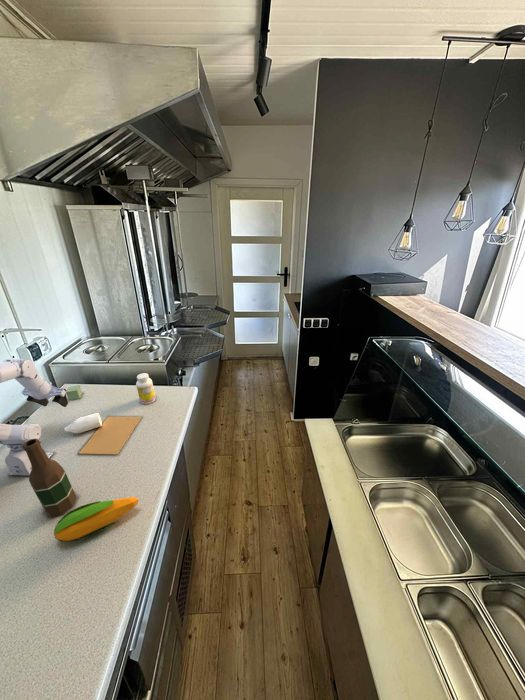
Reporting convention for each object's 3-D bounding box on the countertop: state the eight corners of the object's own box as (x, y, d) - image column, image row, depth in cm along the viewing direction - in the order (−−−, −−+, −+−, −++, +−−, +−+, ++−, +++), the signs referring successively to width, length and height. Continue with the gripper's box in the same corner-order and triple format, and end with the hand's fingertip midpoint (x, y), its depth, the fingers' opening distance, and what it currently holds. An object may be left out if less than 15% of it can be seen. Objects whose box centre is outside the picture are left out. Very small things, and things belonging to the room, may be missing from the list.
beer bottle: (61, 519, 79) (29, 456, 68) (38, 514, 80) (2, 451, 70) (83, 495, 86) (56, 433, 75) (61, 490, 87) (31, 430, 77)
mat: (117, 454, 100) (117, 454, 100) (78, 454, 100) (78, 453, 100) (141, 417, 118) (141, 416, 118) (108, 417, 118) (108, 416, 118)
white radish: (67, 431, 111) (62, 419, 109) (101, 420, 116) (97, 409, 114) (66, 440, 107) (61, 429, 104) (102, 428, 111) (97, 417, 109)
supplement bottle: (139, 398, 130) (133, 373, 124) (155, 394, 133) (149, 370, 127) (141, 406, 125) (134, 381, 119) (156, 402, 127) (151, 377, 121)
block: (80, 398, 131) (77, 390, 129) (68, 400, 129) (65, 392, 127) (82, 393, 134) (79, 385, 132) (71, 394, 133) (68, 386, 131)
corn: (50, 511, 73) (133, 478, 81) (60, 527, 77) (139, 495, 85) (47, 538, 67) (137, 500, 76) (58, 555, 71) (142, 517, 79)
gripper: (61, 375, 101) (79, 395, 111) (21, 374, 102) (43, 394, 112) (50, 391, 96) (71, 412, 107) (9, 390, 97) (33, 410, 107)
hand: (56, 404), depth 109 cm, fingers open, 7 cm apart
